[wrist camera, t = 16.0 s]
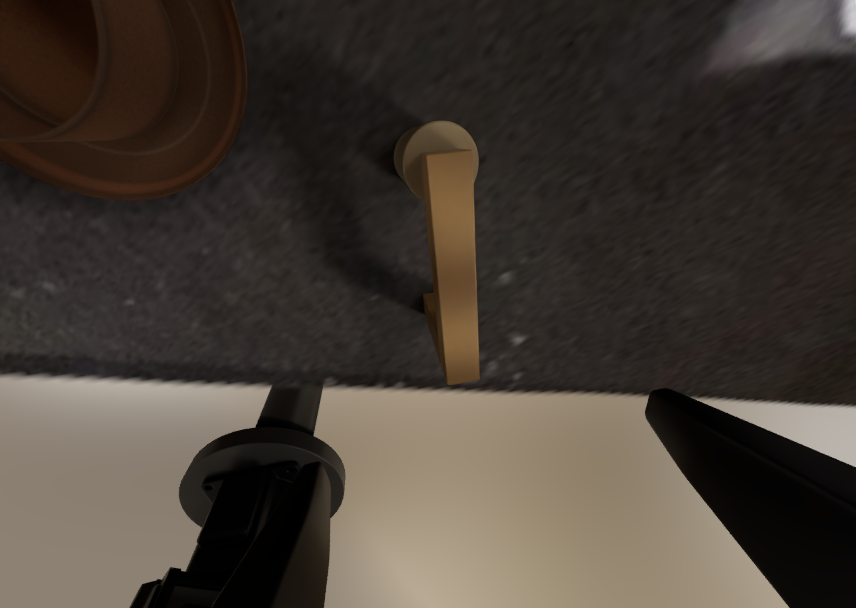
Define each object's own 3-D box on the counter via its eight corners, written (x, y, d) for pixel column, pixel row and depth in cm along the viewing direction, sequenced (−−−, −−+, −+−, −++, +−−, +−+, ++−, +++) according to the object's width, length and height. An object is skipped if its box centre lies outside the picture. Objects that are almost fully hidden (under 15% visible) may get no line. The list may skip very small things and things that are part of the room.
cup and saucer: (-49, -317, 10) (-601, -919, 4) (312, 33, 14) (277, -33, 9) (-135, 55, 13) (-523, -12, 7) (188, 242, 17) (104, 288, 12)
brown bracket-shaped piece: (458, 309, 22) (494, 377, 16) (414, 316, 22) (432, 388, 15) (447, 123, 17) (492, 113, 10) (389, 129, 16) (400, 122, 10)
